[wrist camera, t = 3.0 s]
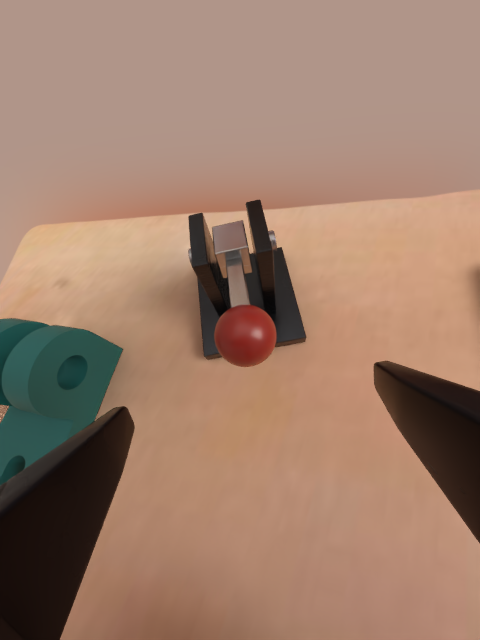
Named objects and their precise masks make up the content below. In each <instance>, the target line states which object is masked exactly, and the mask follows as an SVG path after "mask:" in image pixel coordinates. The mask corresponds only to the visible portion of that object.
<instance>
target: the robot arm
mask: <svg viewBox="0 0 480 640" xmlns="http://www.w3.org/2000/svg"><path fill="white" fill-rule="evenodd" d="M374 385H375V388H376V390H377V392H378V394H379V396H380V398H381V399H382V401H383V403H384V405H385V406H386V408H387V410H388V412H389V414H390V415H391V417H392V419H393V421H394V422H395V424H396V426H397V427H398V429H399V431H400V432H401V434H402V435H403V437H404V438H405V439H406V441H407V442H408V444H409V445H410V446H411V448H412V449H413V451H414V452H415V453H416V455H417V456H418V458H419V459H420V460H421V462H422V463H423V465H424V466H425V467H426V469H427V470H428V472H429V473H430V474H431V476H432V477H433V479H434V480H435V481H436V483H437V484H438V486H439V487H440V488H441V490H442V491H443V493H444V494H445V495H446V497H447V498H448V500H449V501H450V502H451V504H452V505H453V507H454V508H455V509H456V511H457V512H458V514H459V515H460V516H461V518H462V519H463V521H464V522H465V523H466V525H467V526H468V528H469V529H470V530H471V532H472V533H473V535H474V536H475V537H476V539H477V540H478V542H479V543H480V391H478V390H475V389H472V388H468V387H465V386H462V385H459V384H456V383H453V382H450V381H447V380H444V379H441V378H438V377H435V376H432V375H429V374H426V373H423V372H420V371H417V370H414V369H411V368H408V367H405V366H402V365H399V364H396V363H393V362H390V361H382V362H376V363H375V364H374ZM133 433H134V422H133V420H132V418H131V415H130V413H129V411H128V409H127V408H126V407H125V406H122V407H116V408H113V409H112V410H110V411H109V412H107V413H106V414H104V415H103V416H101V417H100V418H98V419H97V420H95V421H94V422H92V423H91V424H90V425H88V426H87V427H85V428H84V429H82V430H81V431H79V432H78V433H76V434H75V435H73V436H72V437H71V438H69V439H68V440H66V441H65V442H63V443H62V444H60V445H59V446H57V447H56V448H54V449H53V450H51V451H50V452H49V453H47V454H46V455H44V456H43V457H41V458H40V459H38V460H37V461H35V462H34V463H32V464H31V465H30V466H28V467H27V468H25V469H24V470H22V471H21V472H19V473H18V474H16V475H15V476H13V477H12V478H10V479H9V480H8V481H7V482H5V483H3V484H2V485H0V640H60V638H61V635H62V632H63V630H64V627H65V624H66V622H67V619H68V616H69V614H70V611H71V608H72V606H73V603H74V600H75V598H76V595H77V592H78V590H79V587H80V584H81V582H82V579H83V576H84V574H85V571H86V568H87V566H88V563H89V560H90V558H91V555H92V552H93V550H94V547H95V544H96V542H97V539H98V537H99V534H100V531H101V529H102V526H103V523H104V521H105V518H106V515H107V513H108V510H109V507H110V505H111V502H112V499H113V497H114V494H115V491H116V489H117V486H118V483H119V481H120V478H121V475H122V472H123V469H124V466H125V462H126V459H127V455H128V451H129V448H130V444H131V440H132V437H133Z"/></svg>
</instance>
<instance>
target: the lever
mask: <svg viewBox="0 0 480 640" xmlns="http://www.w3.org/2000/svg"><path fill="white" fill-rule="evenodd" d="M212 232H213V243H214V254H215V257H216V260H217V263H218V266H219V269H220V272H221V275H222V278H227V279H228V287H229V295H230V304H231V308H230V309H228V310H227V311H226V312H225V313H224V314H223V315H222V316H221V317H220V318H219V320H218V322H217V324H216V327H215V332H214V339H215V344H216V347H217V349H218V351H219V353H220V354H221V356H222V357H223V358H224V359H225V360H227V361H228V362H230V363H231V364H234V365H237V366H241V367H250V366H255V365H257V364H259V363H261V362H263V361H264V360H265V359H267V358H268V356H269V355H270V354H271V353H272V351H273V349H274V347H275V344H276V328H275V325H274V322H273V320H272V319H271V317H270V316H269V315H268V314H267V313H266V312H265V311H264V310H262V309H261V308H259V307H256V306H253V305H250V300H249V294H248V288H247V283H246V277H245V274H247V273H252V272H253V270H252V264H251V259H250V254H249V248H248V243H247V238H246V233H245V228H244V224H243V221H242V220H241V221H237V222H232V223H228V224H224V225H219V226H215V227H212Z"/></svg>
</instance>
